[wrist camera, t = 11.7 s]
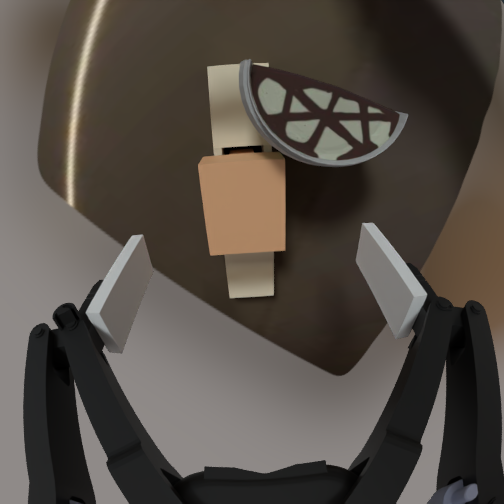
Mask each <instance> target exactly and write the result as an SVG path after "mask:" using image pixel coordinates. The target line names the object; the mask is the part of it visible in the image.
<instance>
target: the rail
mask: <svg viewBox="0 0 504 504" xmlns="http://www.w3.org/2000/svg"><path fill="white" fill-rule="evenodd" d="M253 64H256V65H261V66H265V67H269V65H268V63H253ZM207 68H208V83H209V98H210V111H211V124H212V136H213V148H214V156H218V155H225V153H224V148H225V147H239V146H257V145H261V149H262V152H272V146H271V145H270V144H269V143H268V142H267V141H266V140H265V139H264V138H263V137H262V136H261V135H260V133H259V132H258V131H257V130H256V128H255V127H254V126H253V124H252V122H251V121H250V119H249V117H248V115H247V114H246V111H245V108H244V106H243V103H242V100H241V95H240V90H239V69H240V64H233V65H221V66H211V67H207ZM224 255H225V263H226V271H227V279H228V287H229V295H230V298H242V297H258V296H273V295H274V251H271V252H256V253H240V254H224Z"/></svg>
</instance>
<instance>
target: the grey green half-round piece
mask: <svg viewBox="0 0 504 504" xmlns="http://www.w3.org/2000/svg"><path fill="white" fill-rule="evenodd" d="M239 90H240V95H241V100H242V103H243V106H244V108H245V111H246V114H247V115H248V117H249V119H250V121H251V122H252V124H253V126H254V127H255V128H256V130H257V131H258V132H259V133H260V135H261V136H262V137H263V138H264V139H265V140H266V141H267V142H268V143H269V144H270V145H271V146H273V147H274V148H276V149H277V150H279V151H280V152H281V153H283V154H285V155H287V156H289V157H291V158H293V159H295V160H298V161H301V162H304V163H306V164H312V165H317V166H324V167H344V166H351V165H355V164H359V163H362V162H364V161H367V160H369V159H371V158H373V157H375V156H377V155H378V154H380V153H381V152H383V151H384V150H385V149H386V148H388V147H389V146H390V145H391V144H392V143H393V142H394V141H395V139H396V138H397V137H398V135H399V134H400V132H401V131H402V129H403V127H404V125H405V123H406V120H407V117H408V114H405V113H401V112H396V111H393V110H392V109H389V108H386V107H384V106H382V105H379V104H377V103H375V102H373V101H371V100H368V99H366V98H364V97H361V96H359V95H356V94H354V93H352V92H349V91H347V90H344V89H342V88H339V87H336V86H334V85H331V84H328V83H324V82H321V81H318V80H314V79H311V78H308V77H305V76H301V75H298V74H294V73H290V72H286V71H283V70H279V69H274V68H270V67H265V66H261V65H256V64H253V63H252V61H251V59H249V61H248V60H244V61H242V62H240V69H239Z"/></svg>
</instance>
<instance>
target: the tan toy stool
mask: <svg viewBox="0 0 504 504" xmlns="http://www.w3.org/2000/svg"><path fill="white" fill-rule="evenodd" d="M198 169H199V177H200V185H201V193H202V201H203V208H204V215H205V222H206V229H207V236H208V243H209V250H210V255H224V254H240V253H256V252H271V251H285V223H286V201H285V158H284V157H283V156H282V154H281V153H280V152H262V153H254V151H253V148H250V149H235V150H230V153H229V155H218V156H207V157H203V158H202V160H201V161H200V163H199V164H198Z"/></svg>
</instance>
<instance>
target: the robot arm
mask: <svg viewBox="0 0 504 504" xmlns="http://www.w3.org/2000/svg"><path fill="white" fill-rule="evenodd" d="M502 2H503V3H504V0H502ZM356 263H357V265H358V266H359V268H360V270H361V272H362V274H363V276H364V277H365V279H366V281H367V283H368V285H369V287H370V289H371V291H372V292H373V294H374V296H375V298H376V300H377V302H378V304H379V306H380V308H381V310H382V312H383V314H384V316H385V318H386V320H387V322H388V325H389V327H390V329H391V331H392V333H393V335H394V337H395V339H399V338H404V337H408V335H409V334H410V332H411V330H412V329H413V330H414V332H415V336H414V338H413V339H412V341H411V343H410V345H409V347H408V348H409V351H408V354H407V357H406V359H405V362H404V365H403V367H402V370H401V372H400V375H399V377H398V380H397V382H396V384H395V387H394V389H393V391H392V393H391V396H390V398H389V400H388V402H387V404H386V406H385V408H384V411H383V412H382V415H381V417H380V418H379V421H378V422H377V424H376V426H375V428H374V430H373V432H372V434H371V435H370V437H369V439H368V441H367V443H366V444H365V446H364V448H363V449H362V451H361V452H360V454H359V455H358V456H357V458H356V459H355V460H354V461H353V463H352V464H351V466H350V467H349V469H348V470H347V469H345V468H342V467H338V466H333V465H326V461H325V460H323V461H318V462H310V463H303V464H296V465H293V466H290V467H287V468H284V469H280V470H278V471H274V472H270V473H265V474H264V473H257V472H253V471H247V470H243V469H238V468H229V467H205V470H204V471H202V472H198V473H194V474H191V475H189V476H187V477H185V478H182V477H181V475H180V474H179V473H178V472H177V471H176V470H175V469H174V468H173V467H172V466H171V465H170V464H169V462H168V461H167V460H166V459H165V457H164V456H163V455H162V453H161V452H160V450H159V449H158V448H157V446H156V445H155V443H154V442H153V440H152V439H151V437H150V436H149V434H148V433H147V432H146V430H145V428H144V427H143V425H142V424H141V422H140V420H139V419H138V417H137V415H136V414H135V412H134V410H133V408H132V407H131V405H130V403H129V402H128V400H127V398H126V396H125V395H124V393H123V391H122V389H121V387H120V385H119V383H118V382H117V379H116V377H115V375H114V373H113V371H112V369H111V367H110V365H109V363H108V361H107V359H106V356H105V354H104V353H103V351H102V349H103V347H104V345H105V346H106V348H107V349H108V351H109V352H113V353H122V352H123V349H124V346H125V344H126V340H127V338H128V335H129V332H130V330H131V326H132V324H133V322H134V319H135V316H136V314H137V311H138V309H139V306H140V303H141V301H142V298H143V296H144V293H145V291H146V289H147V286H148V284H149V281H150V279H151V276H152V274H153V268H152V265H151V261H150V258H149V254H148V251H147V247H146V244H145V240H144V236H143V235H133V236H131V238H130V239H129V241H128V242H127V244H126V245H125V247H124V249H123V250H122V252H121V253H120V255H119V256H118V258H117V259H116V261H115V263H114V264H113V266H112V267H111V269H110V271H109V272H108V274H107V276H106V277H105V279H104V280H99V281H98V282H97V283H96V284H95V285H94V286H93V288H92V289H91V291H90V294H88V296H87V298H86V299H85V301H84V303H83V304H82V306H81V308H80V310H79V311H78V310H77V309H76V307H75V305H74V304H72V303H65V304H63V305H61V306H59V307H58V308H57V309H56V310H55V311H54V313H53V320H54V321H55V323H56V325H57V326H58V329H54V330H51V329H50V328H49V326H48V325H47V324H45V323H42V324H39V325H37V326H36V327H34V328H33V330H32V331H31V333H30V336H29V343H28V350H27V358H26V367H25V379H24V402H23V403H24V404H23V410H24V411H23V413H24V414H23V419H24V441H25V453H26V462H27V469H28V475H29V482H30V484H29V496H28V504H96V500H95V495H94V491H93V487H92V483H91V479H90V476H89V472H88V468H87V464H86V460H85V455H84V450H83V445H82V440H81V434H80V428H79V422H78V415H77V407H76V398H75V387H74V380H75V383H76V386H77V388H78V391H79V394H80V397H81V399H82V402H83V405H84V407H85V410H86V412H87V414H88V417H89V419H90V421H91V424H92V426H93V428H94V430H95V433H96V435H97V437H98V439H99V441H100V443H101V445H102V447H103V449H104V451H105V453H106V455H107V457H108V461H107V462H106V463H107V467H108V469H109V471H110V473H111V475H112V477H113V478H114V480H115V482H116V484H117V485H118V487H119V488H120V490H121V492H122V493H123V495H124V496H125V498H126V499H127V501H128V502H129V504H396V502H397V500H398V499H399V497H400V495H401V493H402V492H403V490H404V488H405V486H406V484H407V482H408V480H409V478H410V476H411V474H412V472H413V470H414V468H415V466H416V464H417V461H418V459H419V457H420V455H421V452H422V445H421V444H420V442H421V438H422V436H423V433H424V430H425V428H426V425H427V423H428V419H429V417H430V414H431V411H432V408H433V405H434V402H435V399H436V395H437V392H438V388H439V385H440V381H441V377H442V373H443V369H444V365H445V361H446V411H445V425H444V435H443V443H442V450H441V457H440V463H439V469H438V476H437V491H436V492H435V493H434V494H433V496H432V497H431V499H430V500H429V501H428V502H427V504H504V474H503V467H502V463H501V442H502V441H501V440H502V413H501V396H500V385H499V376H498V369H497V362H496V356H495V351H494V345H493V340H492V335H491V331H490V326H489V323H488V319H487V315H486V311H485V309H484V307H483V306H482V305H481V304H480V303H479V302H476V301H473V300H471V301H468V302H467V303H466V305H465V307H464V308H460V307H453V305H452V303H451V302H450V301H449V300H447V299H445V298H443V297H438V296H437V295H436V294H435V292H434V291H433V289H432V288H431V286H430V285H429V284H428V283H427V281H425V278H424V277H423V276H422V274H421V273H420V272H419V270H418V269H417V268H416V267H415V266H413V265H412V264H411V263H405V262H404V261H403V260H402V258H401V257H400V256H399V254H398V253H397V252H396V251H395V249H394V248H393V247H392V245H391V244H390V243H389V242H388V240H387V239H386V238H385V237H384V235H383V234H382V233H381V232H380V230H379V229H378V228H377V227H376V226H375V224H374V223H362V228H361V234H360V240H359V246H358V251H357V257H356Z"/></svg>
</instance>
